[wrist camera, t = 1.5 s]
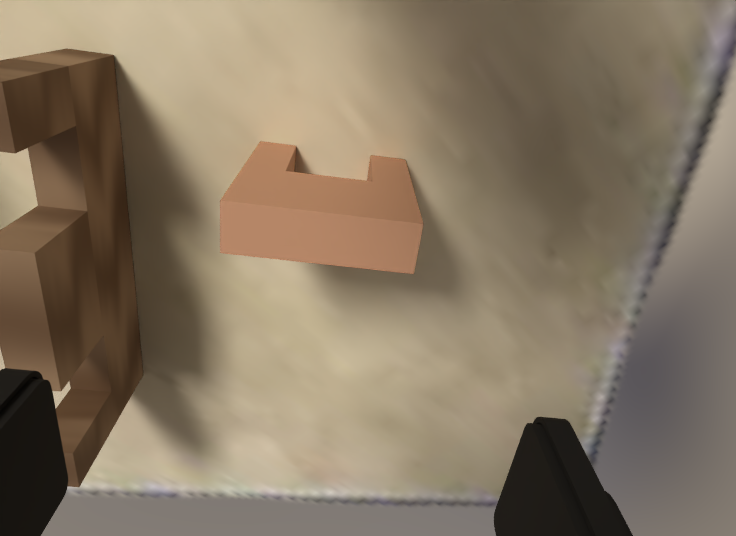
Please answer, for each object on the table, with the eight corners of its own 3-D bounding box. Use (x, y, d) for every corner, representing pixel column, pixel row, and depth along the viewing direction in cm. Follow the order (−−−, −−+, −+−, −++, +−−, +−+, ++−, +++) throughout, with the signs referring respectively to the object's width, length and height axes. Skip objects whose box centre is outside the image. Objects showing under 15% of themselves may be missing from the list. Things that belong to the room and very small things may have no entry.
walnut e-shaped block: (66, 48, 22) (-69, 72, 15) (113, 55, 23) (1, 82, 15) (109, 371, 31) (34, 483, 24) (143, 374, 31) (79, 487, 24)
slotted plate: (260, 141, 24) (220, 200, 17) (405, 159, 25) (423, 224, 18) (259, 181, 25) (220, 253, 18) (398, 198, 26) (413, 273, 19)
